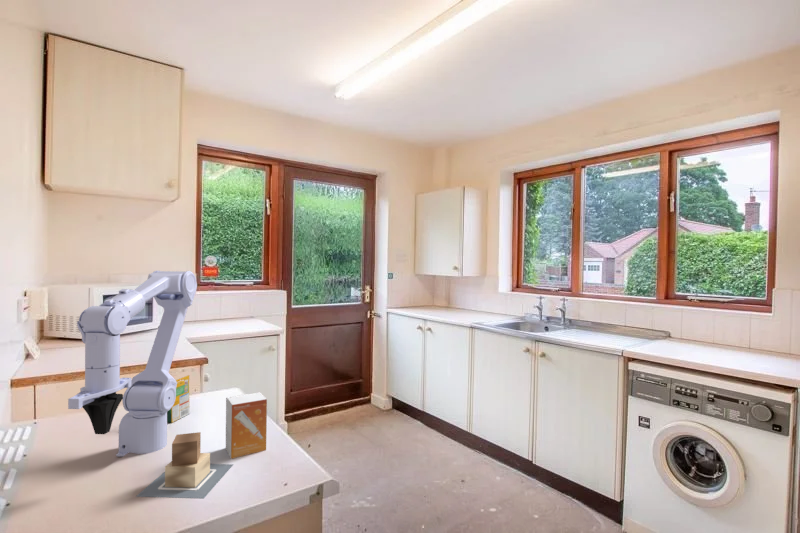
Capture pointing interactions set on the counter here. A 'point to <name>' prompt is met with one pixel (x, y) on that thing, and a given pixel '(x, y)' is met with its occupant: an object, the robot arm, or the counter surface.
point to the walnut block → (186, 449)
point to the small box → (246, 424)
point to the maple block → (187, 473)
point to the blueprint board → (199, 491)
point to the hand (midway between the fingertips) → (102, 432)
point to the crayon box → (180, 401)
